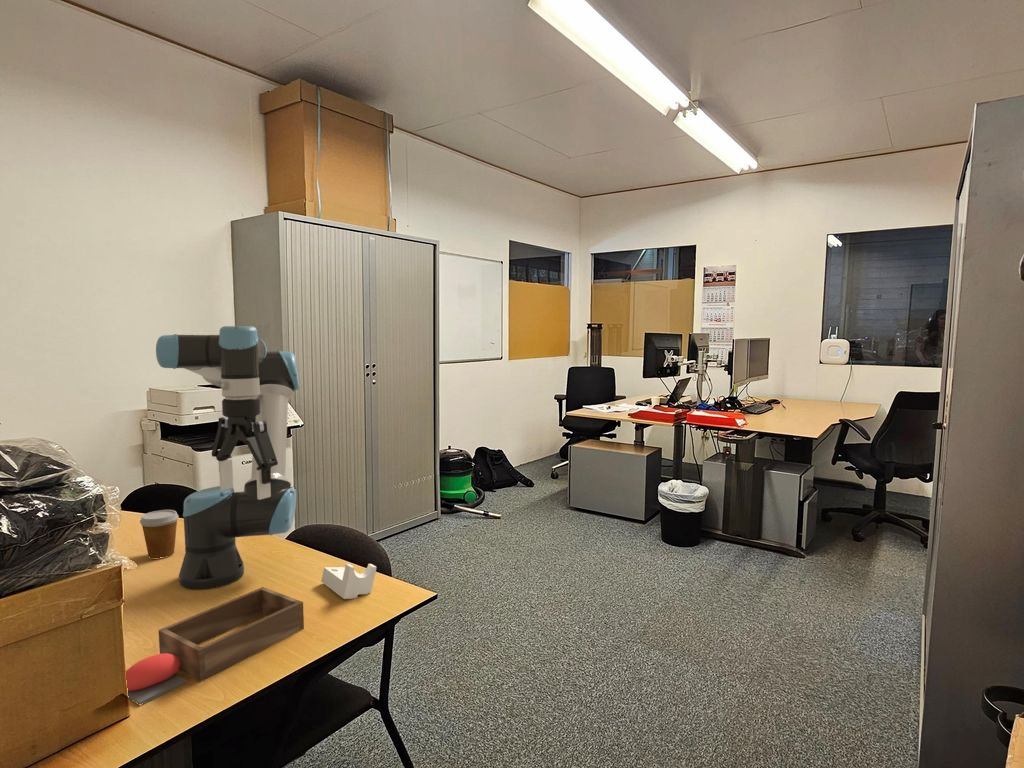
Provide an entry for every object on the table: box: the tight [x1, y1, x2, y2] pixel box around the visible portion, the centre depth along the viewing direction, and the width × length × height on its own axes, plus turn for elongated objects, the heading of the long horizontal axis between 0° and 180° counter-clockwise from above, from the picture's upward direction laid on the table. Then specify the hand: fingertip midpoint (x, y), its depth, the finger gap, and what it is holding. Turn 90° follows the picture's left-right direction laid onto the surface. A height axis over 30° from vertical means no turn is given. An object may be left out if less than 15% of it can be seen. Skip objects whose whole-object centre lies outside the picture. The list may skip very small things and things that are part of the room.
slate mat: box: [128, 672, 187, 705], centre depth 107 cm, size 8×8×1 cm
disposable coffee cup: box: [139, 509, 180, 559], centre depth 169 cm, size 10×10×12 cm
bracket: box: [320, 563, 377, 600], centre depth 148 cm, size 13×7×8 cm, turn 41°
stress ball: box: [125, 653, 180, 691], centre depth 107 cm, size 5×9×6 cm, turn 125°
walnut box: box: [158, 586, 305, 682], centre depth 122 cm, size 14×23×6 cm, turn 148°
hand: (244, 493), depth 130 cm, fingers open, 13 cm apart
